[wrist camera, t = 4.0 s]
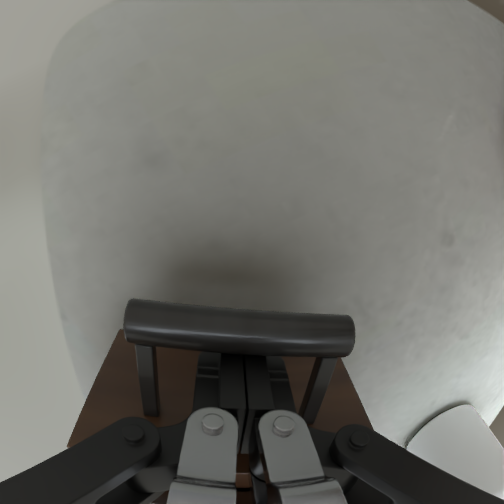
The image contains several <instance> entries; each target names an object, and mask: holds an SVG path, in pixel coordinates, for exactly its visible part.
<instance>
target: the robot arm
mask: <svg viewBox="0 0 504 504" xmlns="http://www.w3.org/2000/svg"><path fill="white" fill-rule="evenodd" d="M239 448H240V453H241V454H249V467H248V479H249V485H250V491H251V496H252V502H253V504H504V500H503V499H501V498H498V497H496V496H494V495H492V494H490V493H487V492H485V491H483V490H481V489H479V488H477V487H475V486H473V485H471V484H469V483H467V482H465V481H463V480H461V479H459V478H457V477H455V476H453V475H451V474H449V473H447V472H445V471H443V470H442V469H440V468H438V467H436V466H434V465H432V464H430V463H429V462H427V461H425V460H423V459H421V458H420V457H418V456H416V455H414V454H412V453H411V452H409V451H407V450H406V449H404V448H402V447H400V446H399V445H397V444H395V443H394V442H392V441H390V440H389V439H387V438H385V437H384V436H382V435H380V434H379V433H377V432H375V431H374V430H372V429H370V428H369V427H367V426H364V425H360V424H350V425H346V426H344V427H342V428H341V429H339V430H338V432H337V433H333V432H328V431H323V430H318V429H315V428H312V427H310V426H308V425H307V424H306V422H305V421H304V419H303V418H302V417H301V416H299V415H298V414H297V411H296V407H295V403H294V399H293V395H292V391H291V386H290V382H289V378H288V374H287V370H286V366H285V361H284V360H283V359H282V357H281V356H258V355H240V354H226V353H213V352H201V353H200V354H199V355H198V363H197V371H196V380H195V389H194V399H193V408H192V412H191V414H190V415H189V417H188V418H187V419H185V420H184V421H183V422H181V423H179V424H176V425H172V426H165V427H156V426H155V425H154V424H153V423H152V422H150V421H149V420H147V419H144V418H141V417H125V418H122V419H120V420H118V421H116V422H114V423H113V424H111V425H109V426H107V427H106V428H104V429H102V430H101V431H99V432H97V433H95V434H94V435H92V436H90V437H88V438H86V439H85V440H83V441H81V442H79V443H77V444H76V445H74V446H72V447H70V448H68V449H66V450H65V451H63V452H61V453H59V454H57V455H55V456H53V457H51V458H49V459H47V460H46V461H44V462H42V463H40V464H38V465H36V466H34V467H32V468H30V469H28V470H26V471H24V472H22V473H20V474H17V475H15V476H13V477H11V478H9V479H7V480H5V481H3V482H1V483H0V504H150V503H151V502H153V501H154V500H155V499H157V498H158V497H159V496H160V495H162V494H163V493H164V492H165V491H168V490H169V494H168V499H167V504H236V485H235V480H236V460H237V454H238V453H239Z"/></svg>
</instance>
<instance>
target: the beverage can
mask: <svg viewBox="0 0 504 504" xmlns="http://www.w3.org/2000/svg"><path fill="white" fill-rule="evenodd" d="M406 450H407V451H409V452H411V453H412V454H414V455H416V456H418V457H420V458H421V459H423V460H425V461H427V462H429V463H430V464H432V465H434V466H436V467H438V468H440V469H442V470H443V471H445V472H447V473H449V474H451V475H453V476H455V477H457V478H459V479H461V480H463V481H465V482H467V483H469V484H471V485H473V486H475V487H477V488H479V489H481V490H483V491H485V492H487V493H490V494H492V495H494V496H496V497H498V498H501V499H503V500H504V449H503V447H502V446H501V444H500V443H499V441H498V440H497V438H496V437H495V435H494V434H493V433H492V431H491V430H490V428H489V427H488V426H487V424H486V423H485V421H484V420H483V419H482V417H481V416H480V415H479V413H478V412H477V410H476V409H475V408H474V407H473V406H472V405H461V406H457V407H455V408H452V409H450V410H447V411H445V412H443V413H441V414H440V415H438V416H436V417H435V418H433V419H432V420H431V421H429V422H428V423H427V424H426V425H425V426H424V427H423V428H421V430H420V431H419V432H418V433H417V434H416V435H415V436H414V437H413V439H412V440H411V441H410V443H409V444H408V446H407V448H406Z"/></svg>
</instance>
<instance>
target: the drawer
mask: <svg viewBox="0 0 504 504" xmlns="http://www.w3.org/2000/svg"><path fill="white" fill-rule="evenodd" d="M354 343H355V326H354V322H353V320H352V318H351V317H350V316H348V315H333V314H309V313H290V312H274V311H259V310H245V309H232V308H220V307H209V306H198V305H188V304H178V303H169V302H160V301H151V300H143V299H134V298H133V299H130V300H129V302H128V304H127V307H126V310H125V315H124V330H122V329H120V330H119V332H118V334H117V336H116V338H115V340H114V342H113V344H112V346H111V348H110V350H109V352H108V354H107V356H106V358H105V360H104V362H103V364H102V367H101V369H100V371H99V373H98V375H97V377H96V379H95V382H94V384H93V386H92V388H91V390H90V393H89V395H88V397H87V399H86V402H85V404H84V406H83V408H82V411H81V413H80V415H79V418H78V421H77V422H76V425H75V427H74V430H73V432H72V435H71V437H70V439H69V442H68V445H67V447H68V448H70V447H72V446H74V445H76V444H77V443H79V442H81V441H83V440H85V439H86V438H88V437H90V436H92V435H94V434H95V433H97V432H99V431H101V430H102V429H104V428H106V427H107V426H109V425H111V424H113V423H114V422H116V421H118V420H120V419H122V418H125V417H141V418H144V419H147V420H149V421H150V422H152V423H153V424H154V425H155V426H156V427H165V426H172V425H176V424H179V423H181V422H183V421H184V420H185V419H187V418H188V417H189V415H190V414H191V412H192V408H193V399H194V389H195V380H196V371H197V363H198V355H199V354H200V353H201V352H213V353H226V354H240V355H258V356H281V357H282V359H283V360H284V361H285V366H286V370H287V374H288V378H289V382H290V386H291V391H292V395H293V399H294V403H295V407H296V411H297V414H298V415H299V416H301V417H302V418H303V419H304V421H305V422H306V424H307V425H308V426H310V427H312V428H315V429H318V430H323V431H328V432H333V433H337V432H338V430H339V429H341V428H342V427H344V426H346V425H350V424H360V425H364V426H367V427H369V428H370V429H372V430H374V429H373V427H372V425H371V423H370V420H369V418H368V416H367V414H366V412H365V409H364V407H363V405H362V403H361V401H360V398H359V396H358V394H357V392H356V390H355V387H354V385H353V383H352V381H351V379H350V377H349V375H348V372H347V370H346V368H345V366H344V364H343V362H342V360H341V357H346V356H348V355H349V354H350V353H351V352H352V350H353V347H354ZM248 467H249V454H241V453H240V448H239V453H238V454H237V460H236V480H235V485H236V491H250V485H249V479H248Z"/></svg>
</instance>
